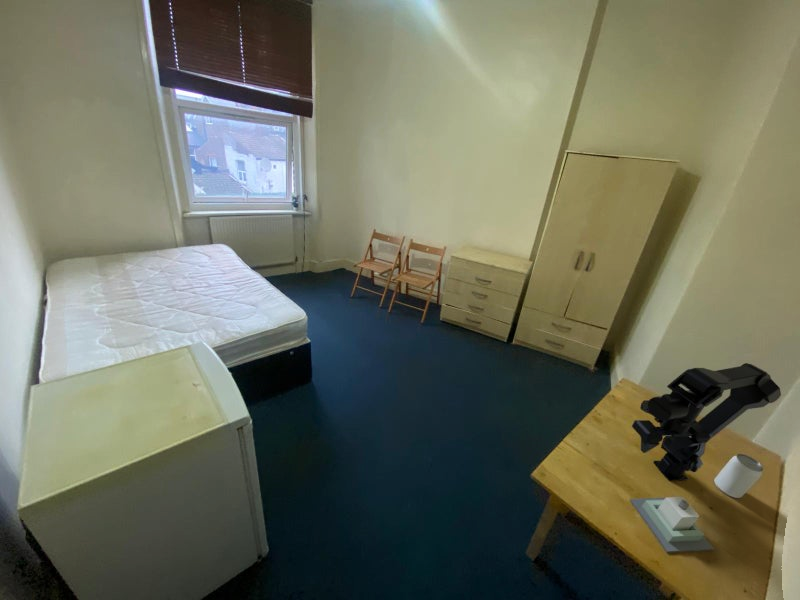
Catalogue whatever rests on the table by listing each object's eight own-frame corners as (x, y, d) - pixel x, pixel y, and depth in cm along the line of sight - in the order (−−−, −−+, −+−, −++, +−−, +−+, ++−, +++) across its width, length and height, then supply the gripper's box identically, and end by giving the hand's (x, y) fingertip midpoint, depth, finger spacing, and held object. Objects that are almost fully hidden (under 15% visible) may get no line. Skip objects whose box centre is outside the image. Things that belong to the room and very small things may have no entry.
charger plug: (670, 512, 89) (685, 493, 85) (686, 532, 85) (702, 513, 81) (654, 513, 89) (668, 494, 85) (669, 533, 84) (684, 513, 80)
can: (707, 478, 101) (728, 452, 95) (726, 478, 101) (748, 452, 96) (728, 499, 95) (751, 472, 90) (747, 498, 96) (772, 472, 90)
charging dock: (670, 498, 94) (675, 492, 92) (712, 550, 82) (719, 543, 81) (629, 500, 92) (633, 493, 91) (666, 552, 81) (672, 545, 79)
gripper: (687, 390, 95) (663, 428, 102) (629, 390, 92) (609, 429, 99) (724, 420, 85) (695, 460, 92) (660, 421, 83) (635, 461, 90)
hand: (657, 451), depth 93 cm, fingers open, 9 cm apart
